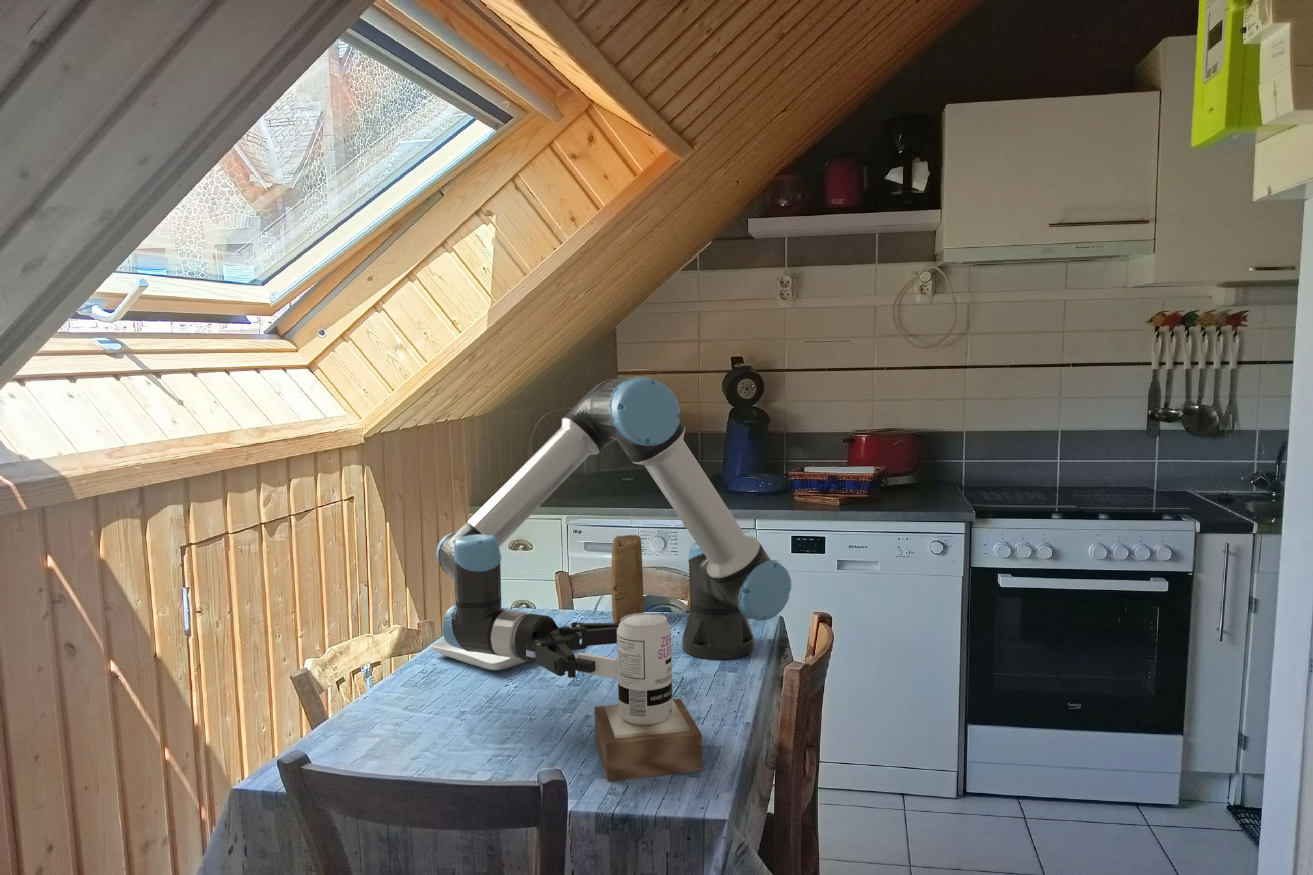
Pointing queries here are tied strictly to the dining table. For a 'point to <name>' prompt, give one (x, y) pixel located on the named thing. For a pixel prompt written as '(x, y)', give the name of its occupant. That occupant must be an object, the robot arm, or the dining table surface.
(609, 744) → the walnut pedestal
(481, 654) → the salad plate
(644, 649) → the supplement can
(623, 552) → the block
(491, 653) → the robot arm
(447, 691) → the dining table surface
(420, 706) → the dining table surface
